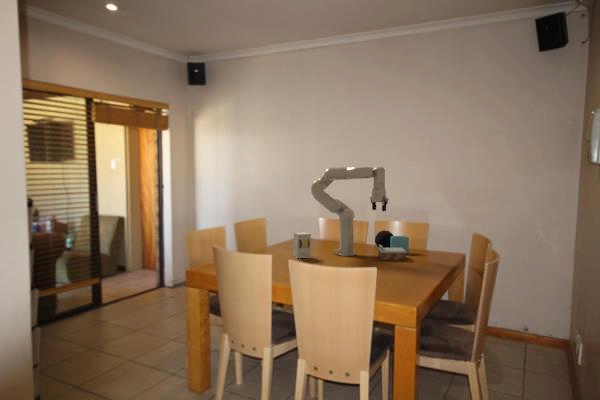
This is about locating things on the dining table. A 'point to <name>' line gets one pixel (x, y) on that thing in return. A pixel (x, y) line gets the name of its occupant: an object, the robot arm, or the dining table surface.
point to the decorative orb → (383, 239)
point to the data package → (400, 242)
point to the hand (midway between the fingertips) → (379, 210)
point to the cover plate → (391, 250)
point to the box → (392, 256)
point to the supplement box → (302, 245)
